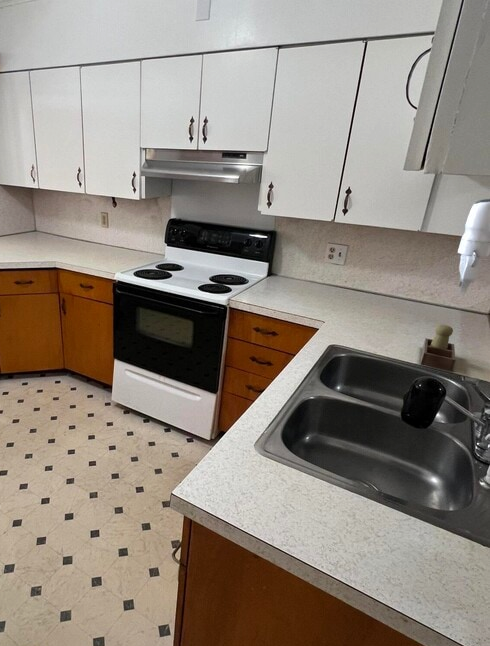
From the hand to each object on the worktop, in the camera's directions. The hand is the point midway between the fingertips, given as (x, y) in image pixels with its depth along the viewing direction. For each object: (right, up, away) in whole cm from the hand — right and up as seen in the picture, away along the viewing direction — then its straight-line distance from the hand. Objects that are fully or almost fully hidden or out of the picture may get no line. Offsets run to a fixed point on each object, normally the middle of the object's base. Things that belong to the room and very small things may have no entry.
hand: (462, 289), depth 147 cm
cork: (-5, -23, +6) cm, 24 cm away
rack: (-7, -25, +3) cm, 26 cm away
